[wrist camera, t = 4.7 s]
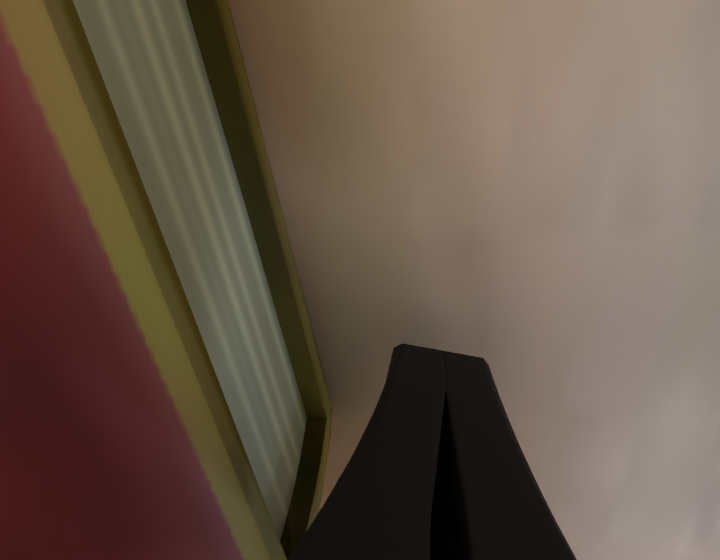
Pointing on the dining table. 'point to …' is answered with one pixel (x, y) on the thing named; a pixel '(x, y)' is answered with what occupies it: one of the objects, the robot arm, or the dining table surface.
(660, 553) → the dining table surface
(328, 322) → the dining table surface
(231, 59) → the hardcover book
